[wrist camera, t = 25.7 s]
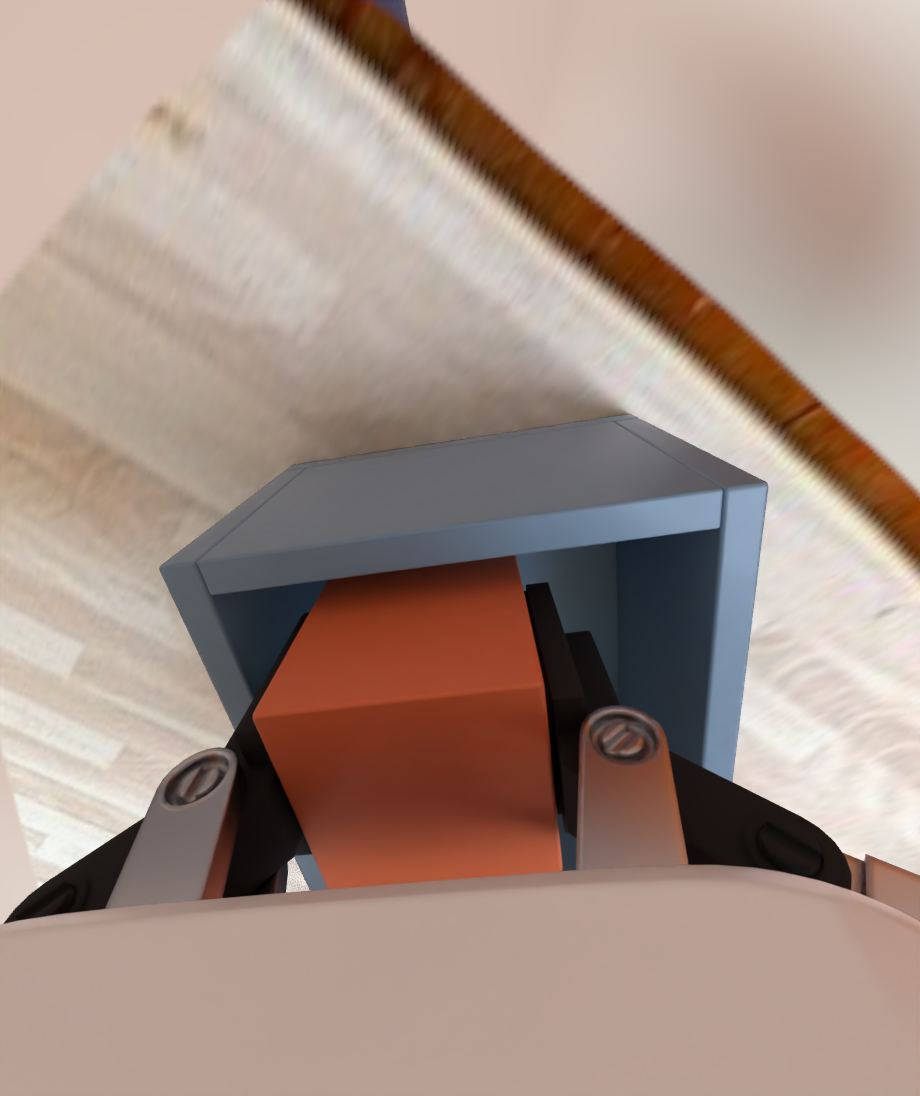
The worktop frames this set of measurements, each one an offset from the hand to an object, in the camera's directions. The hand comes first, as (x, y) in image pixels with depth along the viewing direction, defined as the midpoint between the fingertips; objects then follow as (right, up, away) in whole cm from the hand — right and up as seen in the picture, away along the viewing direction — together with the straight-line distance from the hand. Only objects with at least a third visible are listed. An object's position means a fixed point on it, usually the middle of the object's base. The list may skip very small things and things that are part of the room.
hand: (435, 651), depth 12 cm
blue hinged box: (+2, 0, +7) cm, 7 cm away
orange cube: (0, 0, 0) cm, 0 cm away
